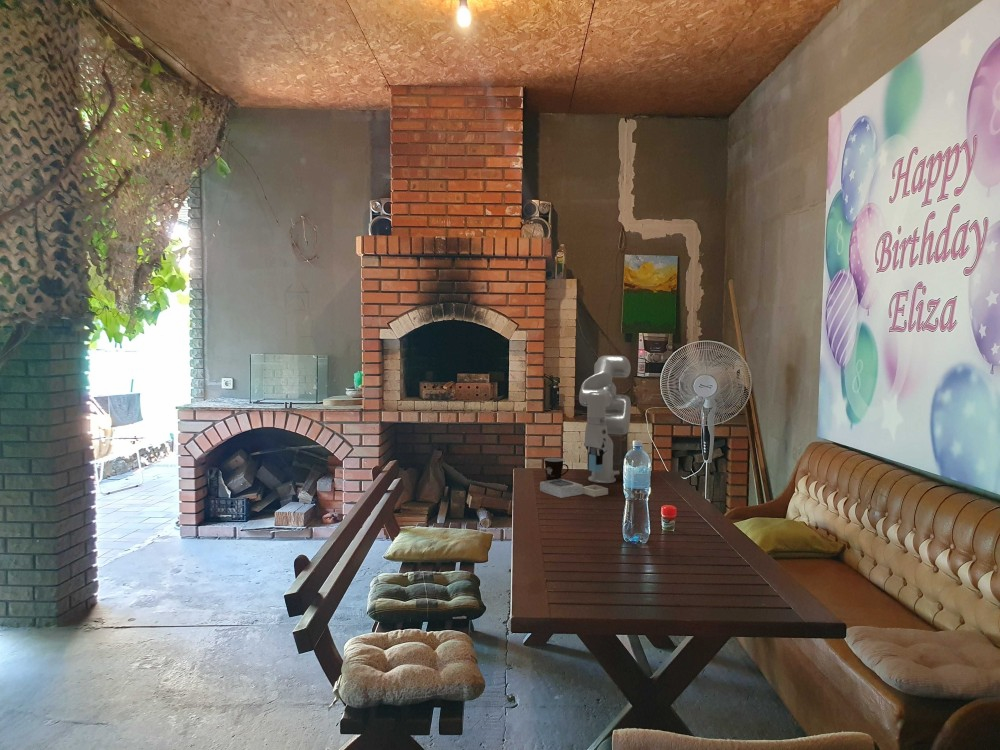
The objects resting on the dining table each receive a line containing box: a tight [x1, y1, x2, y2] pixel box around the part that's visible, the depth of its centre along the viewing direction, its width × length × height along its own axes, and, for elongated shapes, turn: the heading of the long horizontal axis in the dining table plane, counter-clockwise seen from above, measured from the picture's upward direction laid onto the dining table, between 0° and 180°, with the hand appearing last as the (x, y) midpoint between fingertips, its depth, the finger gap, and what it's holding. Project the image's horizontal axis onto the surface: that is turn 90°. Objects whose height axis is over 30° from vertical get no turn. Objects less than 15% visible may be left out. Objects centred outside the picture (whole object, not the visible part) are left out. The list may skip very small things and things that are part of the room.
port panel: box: [539, 478, 584, 499], centre depth 273 cm, size 12×14×4 cm
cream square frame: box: [582, 484, 609, 498], centre depth 272 cm, size 8×8×2 cm
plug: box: [588, 447, 602, 473], centre depth 272 cm, size 4×4×10 cm
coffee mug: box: [544, 457, 570, 481], centre depth 293 cm, size 12×9×10 cm
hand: (595, 463), depth 272 cm, fingers closed on plug, 4 cm apart
